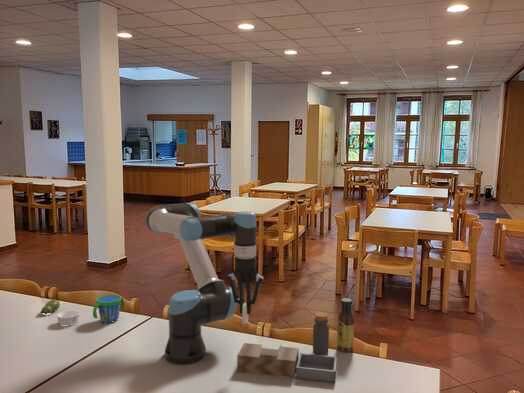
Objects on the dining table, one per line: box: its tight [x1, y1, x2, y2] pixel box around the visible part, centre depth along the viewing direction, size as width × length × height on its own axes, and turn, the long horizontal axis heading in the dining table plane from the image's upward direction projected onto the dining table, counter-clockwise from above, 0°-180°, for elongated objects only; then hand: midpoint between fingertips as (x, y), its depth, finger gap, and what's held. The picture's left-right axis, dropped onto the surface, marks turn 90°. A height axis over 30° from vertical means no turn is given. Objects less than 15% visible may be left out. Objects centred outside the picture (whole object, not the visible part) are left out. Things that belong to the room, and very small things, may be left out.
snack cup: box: [92, 294, 126, 323], centre depth 203 cm, size 16×10×10 cm
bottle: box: [312, 311, 330, 356], centre depth 173 cm, size 6×6×15 cm
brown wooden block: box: [236, 342, 300, 379], centre depth 161 cm, size 20×10×6 cm, turn 78°
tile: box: [261, 340, 282, 356], centre depth 160 cm, size 6×6×2 cm
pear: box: [40, 299, 61, 314], centre depth 213 cm, size 6×5×10 cm
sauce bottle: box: [336, 297, 355, 353], centre depth 176 cm, size 6×6×20 cm
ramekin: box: [56, 309, 80, 325], centre depth 200 cm, size 9×9×4 cm
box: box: [295, 352, 338, 384], centre depth 158 cm, size 13×11×4 cm
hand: (245, 322), depth 161 cm, fingers closed
